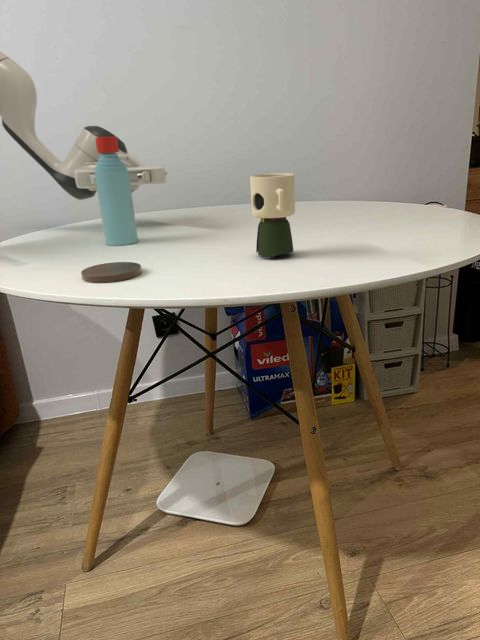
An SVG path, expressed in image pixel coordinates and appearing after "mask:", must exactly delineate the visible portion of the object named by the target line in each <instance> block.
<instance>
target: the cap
mask: <svg viewBox="0 0 480 640" xmlns="http://www.w3.org/2000/svg"><path fill="white" fill-rule="evenodd" d="M117 137H118V136H116V135H115V137H95V139H96V146H97V152H98V153H112V152H119V148H118V142H117Z"/></svg>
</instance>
